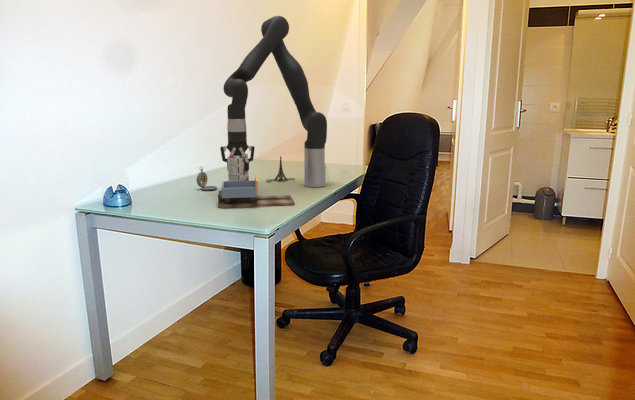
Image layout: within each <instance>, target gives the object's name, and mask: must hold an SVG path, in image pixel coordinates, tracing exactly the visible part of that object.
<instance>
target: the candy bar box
mask: <svg viewBox="0 0 635 400" xmlns="http://www.w3.org/2000/svg"><path fill="white" fill-rule="evenodd" d="M245 154H246V156H247V158H248V159H249V156H248V153H245ZM226 159H228V170H227V172H228V173H227V174H228V175H227V176H228V181H250V177H249V175H250V174H249V170H247V172H246V163H245V162H246V161H245V159H244V157H243V155H242V156H239V155H237V156H234V155H233V156H229V155H228V156H227V158H226Z"/></svg>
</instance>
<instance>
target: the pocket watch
mask: <svg viewBox="0 0 635 400" xmlns="http://www.w3.org/2000/svg"><path fill="white" fill-rule="evenodd" d="M199 170H200V172H199V173H198V174H197V176H196V185H197V186H198V187H200V189H201V190H202V191H207V192H210V191H215V190H217V188H218V187H217V186H214V185H208V186H207V184H208V181H209V180H208V175H207V173H206V172H205V171H204V167H203V166H201V167H199Z"/></svg>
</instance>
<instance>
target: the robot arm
mask: <svg viewBox="0 0 635 400" xmlns="http://www.w3.org/2000/svg"><path fill="white" fill-rule="evenodd" d="M260 31H261V35H262V38H261V40H259V42H258V43H257V44H256V45H255V46H254V47H253V48H252V49H251V50H250V51H249V53H247V55H246V56H245V57H244V59H243V60H242V61H241V63H240V65H239V67H238V68H237V69H236V70H235V71H234V72H232V73H231V75H230V76H229V77H228V78H227V79H226V80H225V82H224V84H223V88H222V89H223V93H224V95H225V96H226V97H229V98H231V103H230V104H228V106H227V123H226V124H227V125H226V126H227V127H226V129H227V130H226V131H227V145H226V146H222V145H221V146H220V148H219V149H220V154H221V160H222V162H224V163H226V164H227V166H226V168H227V171H228V159H227V158H226V154H225V153H226V152H227V150H228V152H229V154H228V157H229V156H233V155H234V156H237V155H239V156H242V155H243V157H244V159H245V161H246V162H245V163H246V172H247V170H248V171H249V170H250V162H253V161H254V158H255V157H254V156H255V145H248V143H247V142H248V139H247V136H248V135H247V130H248V129H247V121H246V120H247V119H246V106H247V102H248V97H249V87H248V84H247V83H248V82H249V81H252V80H253V79H254V78H255V77H256V75H257V74H258V72H259V71H260V69H261V67H262V66H263V64H264V63H265V62H266V60H267V59H268V57H269V56H270V54H271V53H272V56H273V58H274V60H275V62H276V65H277V68H278V70H279V71H280V74H281V77H282V79H283V80H284V83H285V86H286V87H287V90H288V91H289V94H290V96H291V98H292V101H293V102H294V105H295V107H296V110H297V112H298V115H299V118H300V122H301V124H302V127H303V129H304V130H305V131H307V133H306V135H307V137H306V140H305V141H304V142H303V143H304V145H303V147H304V152H303V153H304V154H303V156H304V159H303V160H304V162H303V164H304V182H303V183H304V186H305V187H308V188H321V187H326V178H327V176H326V168H327V167H326V165H325V163H326V157H325V155H326V152H325V151H326V147H325V146H326V143H327V138H328V137H327V135H328V121H327V117H326V116H325V114H323V113H322V112H320V111H319V112H318V111H317V110H316V109H315V107H314V104H313V103H312V100H311V97H310V89H309V82H308V79H307V76H306V74H305V71H304V69H303V67H302V65H301V64H300V62H299V61H298V60H297V59H296V58H295V57H294V56H293V55H292V54H291V53H290V52H289V50H288V49H287V46H286V44H285V41H284V39H285V38H286V37H287V36H288V34H289V33H290V32H289V31H290V24H289V22H288V20H287V18H285V17H284V16H281V15H274V16H272V17H270V18H268V19H267V20H264V21H263V22H262V24H261V28H260ZM247 150H249V152H250V157H248V158H247V156H246V154H247V153H246V151H247Z"/></svg>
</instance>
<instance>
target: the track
mask: <svg viewBox="0 0 635 400" xmlns="http://www.w3.org/2000/svg"><path fill="white" fill-rule="evenodd" d="M255 198H256V200H255V201H254V202H250V200H249V197H247V198H231V202H229V203H226V202H225V200H224V199H225V198H221V190H218V195H217V208H218V209H224V208H226V209H227V208H228V209H229V208H230V209H231V208H251V207H252V208H254V207H255V208H257V207H260V208H261V207H282V206H283V207H284V206H286V207H288V206H291V207H292V206H295V205H296V203H295V201H294V199H293V196H292V195H290V194H284V195H277V194H276V195H258V197H255Z"/></svg>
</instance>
